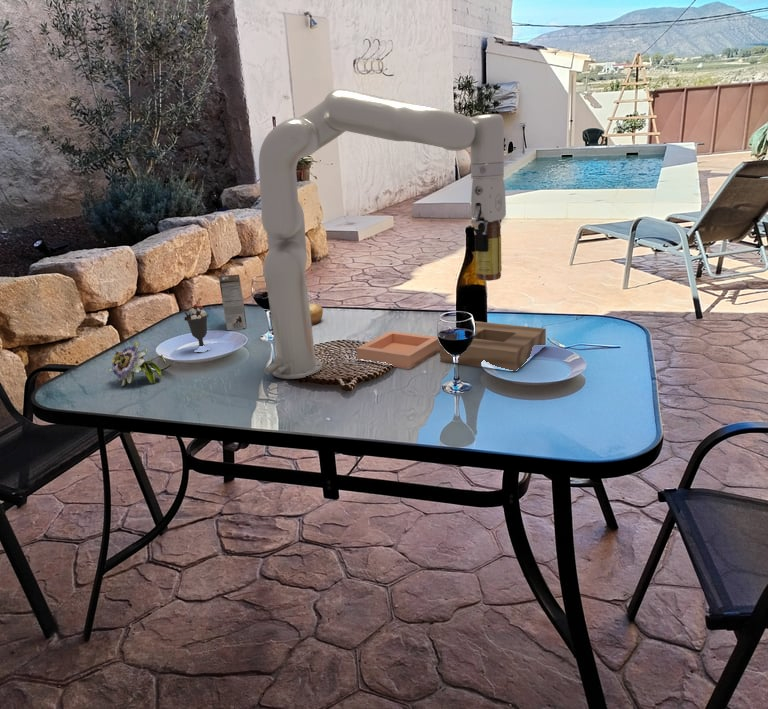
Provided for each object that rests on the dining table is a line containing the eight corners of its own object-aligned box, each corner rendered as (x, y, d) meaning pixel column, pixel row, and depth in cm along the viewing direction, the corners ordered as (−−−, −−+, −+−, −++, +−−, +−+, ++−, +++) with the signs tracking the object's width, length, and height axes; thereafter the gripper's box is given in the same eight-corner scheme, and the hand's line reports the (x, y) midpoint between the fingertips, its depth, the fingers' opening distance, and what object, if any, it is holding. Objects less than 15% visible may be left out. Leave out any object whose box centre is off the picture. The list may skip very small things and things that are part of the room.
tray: (410, 369, 152) (409, 355, 151) (357, 360, 161) (356, 348, 160) (441, 349, 165) (441, 337, 164) (390, 342, 173) (390, 330, 172)
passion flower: (129, 405, 157) (96, 369, 155) (158, 382, 166) (126, 348, 164) (149, 387, 150) (114, 350, 149) (178, 364, 159) (145, 329, 157)
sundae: (218, 346, 182) (209, 296, 177) (208, 353, 175) (199, 302, 171) (197, 346, 183) (188, 296, 178) (186, 354, 177) (177, 302, 172)
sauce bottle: (487, 275, 157) (487, 194, 151) (506, 278, 152) (507, 194, 146) (469, 279, 153) (469, 196, 147) (488, 282, 148) (489, 196, 142)
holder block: (515, 372, 145) (515, 352, 144) (440, 361, 156) (439, 342, 155) (545, 347, 161) (545, 328, 159) (475, 338, 172) (474, 321, 170)
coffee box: (226, 324, 205) (218, 275, 199) (246, 321, 206) (239, 273, 201) (226, 331, 196) (218, 281, 191) (247, 328, 198) (240, 278, 192)
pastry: (279, 324, 200) (275, 297, 197) (306, 315, 208) (303, 289, 205) (303, 330, 192) (300, 302, 189) (331, 320, 200) (328, 293, 197)
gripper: (486, 173, 136) (486, 256, 141) (517, 168, 149) (516, 243, 155) (455, 174, 140) (457, 254, 145) (488, 169, 153) (488, 242, 159)
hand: (487, 248), depth 150 cm, fingers closed on sauce bottle, 6 cm apart
